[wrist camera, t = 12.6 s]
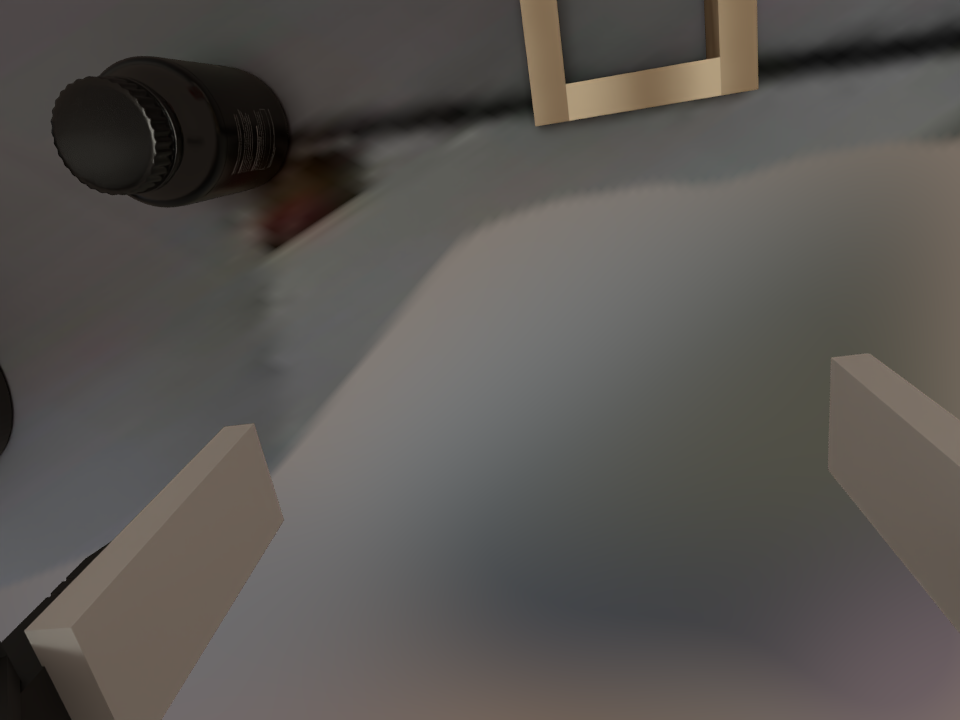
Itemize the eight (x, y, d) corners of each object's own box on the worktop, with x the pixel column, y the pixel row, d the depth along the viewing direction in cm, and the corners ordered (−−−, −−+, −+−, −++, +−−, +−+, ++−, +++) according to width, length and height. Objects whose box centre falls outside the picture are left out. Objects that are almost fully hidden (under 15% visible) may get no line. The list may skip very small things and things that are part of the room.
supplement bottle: (219, 39, 37) (73, 6, 26) (314, 124, 38) (214, 128, 27) (158, 136, 39) (0, 144, 28) (250, 214, 40) (133, 252, 29)
